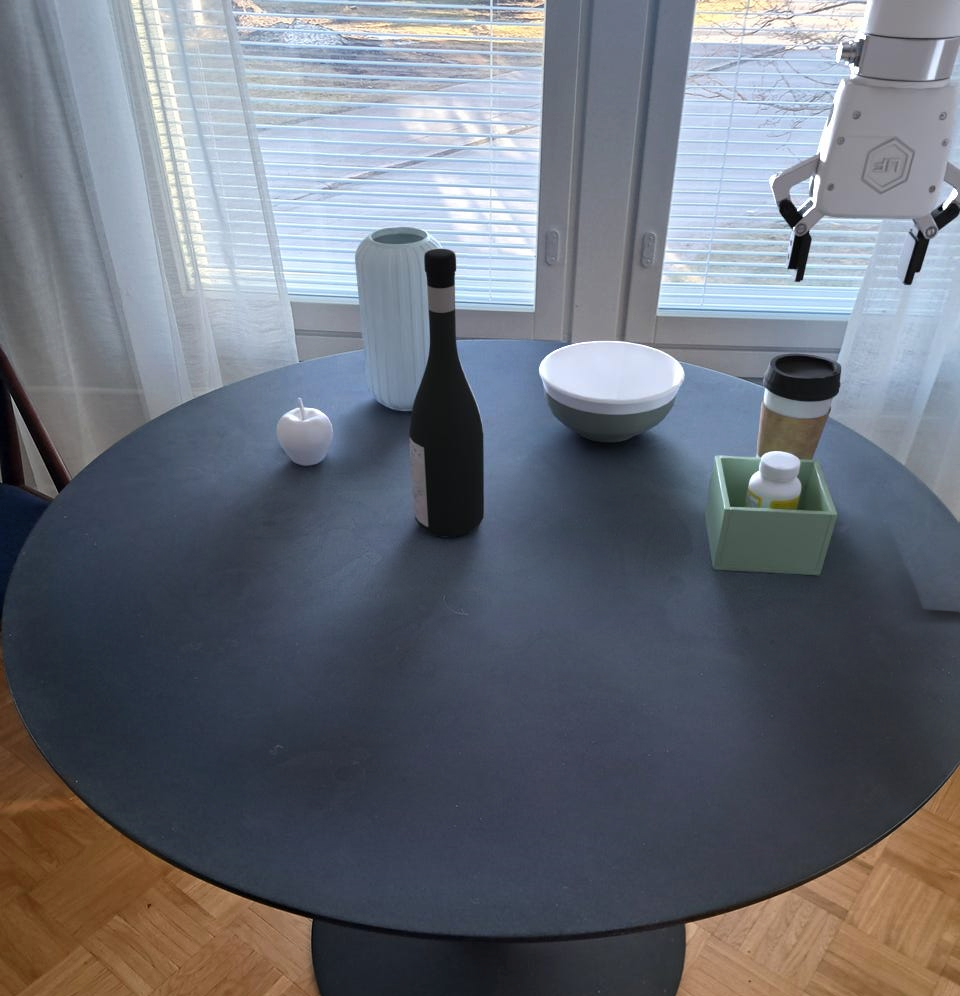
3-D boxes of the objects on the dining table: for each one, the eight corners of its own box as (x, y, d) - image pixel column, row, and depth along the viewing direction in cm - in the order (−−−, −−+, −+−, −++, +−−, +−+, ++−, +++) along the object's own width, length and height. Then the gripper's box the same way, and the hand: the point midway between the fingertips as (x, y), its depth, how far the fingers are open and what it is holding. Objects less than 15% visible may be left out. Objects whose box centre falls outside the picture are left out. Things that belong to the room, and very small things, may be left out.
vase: (353, 409, 126) (336, 243, 112) (391, 376, 134) (379, 217, 120) (428, 423, 123) (419, 254, 108) (461, 389, 131) (458, 227, 116)
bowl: (520, 449, 117) (521, 389, 112) (556, 389, 130) (559, 333, 125) (664, 471, 112) (672, 410, 107) (686, 406, 126) (694, 349, 121)
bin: (802, 518, 104) (818, 459, 99) (820, 575, 96) (837, 514, 91) (704, 513, 105) (714, 455, 100) (712, 569, 97) (724, 509, 92)
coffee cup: (788, 506, 106) (818, 386, 96) (729, 479, 111) (752, 362, 101) (827, 481, 110) (860, 363, 101) (768, 456, 115) (794, 341, 105)
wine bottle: (408, 538, 102) (389, 264, 82) (421, 501, 108) (406, 237, 88) (479, 543, 101) (476, 268, 81) (488, 506, 107) (488, 240, 87)
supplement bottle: (795, 535, 100) (815, 456, 94) (777, 558, 97) (797, 478, 91) (748, 520, 103) (765, 442, 96) (730, 542, 99) (746, 464, 93)
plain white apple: (332, 442, 119) (324, 384, 114) (339, 468, 114) (332, 409, 109) (278, 449, 118) (268, 391, 112) (284, 475, 112) (274, 416, 107)
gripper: (800, 67, 70) (758, 290, 81) (1033, 69, 68) (958, 296, 80) (786, 52, 76) (748, 262, 87) (1001, 53, 74) (934, 267, 85)
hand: (849, 278), depth 83 cm, fingers open, 9 cm apart
